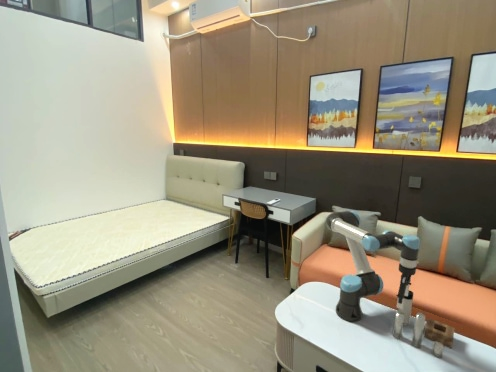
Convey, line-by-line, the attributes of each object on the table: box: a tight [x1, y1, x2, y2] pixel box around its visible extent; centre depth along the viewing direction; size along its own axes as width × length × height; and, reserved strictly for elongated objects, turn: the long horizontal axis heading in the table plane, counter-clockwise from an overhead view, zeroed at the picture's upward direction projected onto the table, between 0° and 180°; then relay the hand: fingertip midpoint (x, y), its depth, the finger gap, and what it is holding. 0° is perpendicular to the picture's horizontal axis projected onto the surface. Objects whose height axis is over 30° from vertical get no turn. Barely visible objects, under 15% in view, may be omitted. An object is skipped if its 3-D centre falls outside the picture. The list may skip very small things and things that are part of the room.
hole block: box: [423, 317, 456, 350], centre depth 143 cm, size 12×10×6 cm
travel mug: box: [397, 289, 414, 326], centre depth 153 cm, size 6×7×20 cm
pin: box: [392, 311, 404, 340], centre depth 142 cm, size 4×4×14 cm
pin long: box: [411, 312, 426, 349], centre depth 136 cm, size 4×4×18 cm
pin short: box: [431, 341, 445, 359], centre depth 132 cm, size 4×4×6 cm
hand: (402, 301), depth 140 cm, fingers open, 13 cm apart
